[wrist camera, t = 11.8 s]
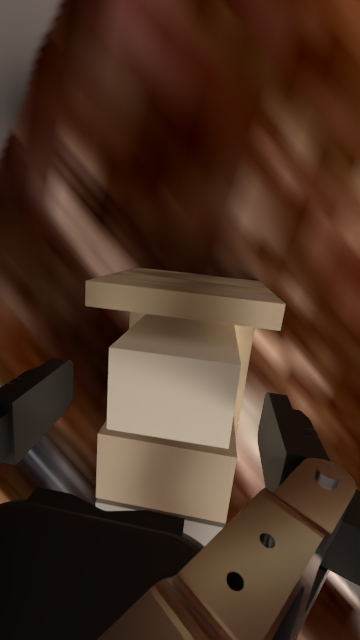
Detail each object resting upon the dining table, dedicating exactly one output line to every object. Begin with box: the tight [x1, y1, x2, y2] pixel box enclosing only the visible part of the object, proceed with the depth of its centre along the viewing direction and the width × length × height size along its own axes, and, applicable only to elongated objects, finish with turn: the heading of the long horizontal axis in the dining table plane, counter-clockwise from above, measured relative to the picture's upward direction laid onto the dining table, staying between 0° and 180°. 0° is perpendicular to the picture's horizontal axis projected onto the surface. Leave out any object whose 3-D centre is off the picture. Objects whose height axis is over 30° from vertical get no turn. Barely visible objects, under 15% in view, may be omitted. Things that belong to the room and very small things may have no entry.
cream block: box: [107, 314, 241, 449], centre depth 17 cm, size 4×6×9 cm
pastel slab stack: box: [85, 267, 285, 546], centre depth 21 cm, size 9×30×10 cm, turn 174°
